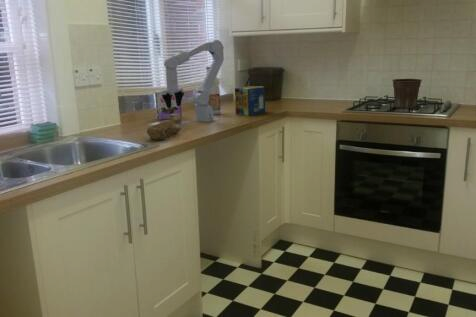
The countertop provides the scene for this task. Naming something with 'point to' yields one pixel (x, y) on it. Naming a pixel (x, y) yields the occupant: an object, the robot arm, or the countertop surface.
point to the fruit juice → (214, 96)
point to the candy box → (165, 106)
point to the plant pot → (406, 92)
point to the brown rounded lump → (163, 130)
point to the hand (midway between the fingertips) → (174, 107)
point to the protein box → (250, 100)
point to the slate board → (177, 123)
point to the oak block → (175, 118)
